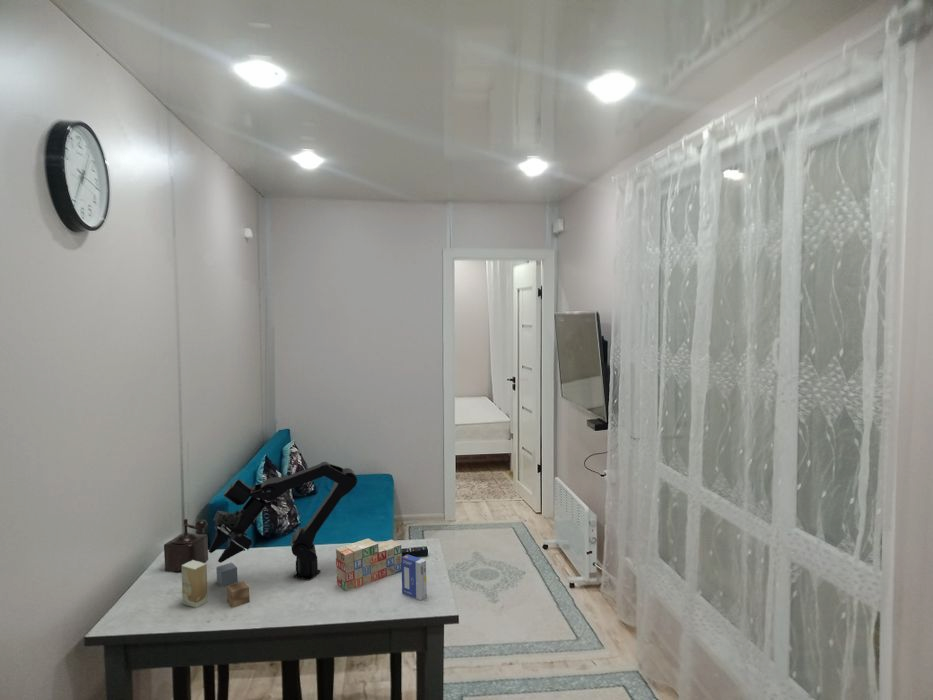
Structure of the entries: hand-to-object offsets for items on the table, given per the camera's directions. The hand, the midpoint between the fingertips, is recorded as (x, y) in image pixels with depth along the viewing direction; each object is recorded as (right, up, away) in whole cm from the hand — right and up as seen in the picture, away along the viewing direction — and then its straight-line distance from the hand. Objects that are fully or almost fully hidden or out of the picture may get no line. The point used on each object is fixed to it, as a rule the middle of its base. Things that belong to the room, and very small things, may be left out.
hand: (214, 557), depth 177 cm
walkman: (+62, -12, 0) cm, 63 cm away
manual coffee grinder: (-17, -11, +22) cm, 30 cm away
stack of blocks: (+47, -11, +12) cm, 49 cm away
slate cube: (0, -12, +10) cm, 16 cm away
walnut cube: (+9, -13, -3) cm, 16 cm away
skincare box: (-4, -13, -3) cm, 14 cm away
